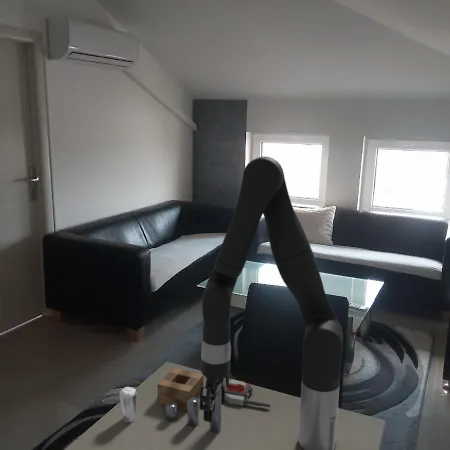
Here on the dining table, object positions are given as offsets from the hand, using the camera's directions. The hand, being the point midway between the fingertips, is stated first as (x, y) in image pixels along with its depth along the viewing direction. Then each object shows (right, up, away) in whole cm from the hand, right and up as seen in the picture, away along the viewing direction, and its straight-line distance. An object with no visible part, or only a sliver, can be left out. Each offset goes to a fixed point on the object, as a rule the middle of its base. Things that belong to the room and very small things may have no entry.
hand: (214, 411), depth 128 cm
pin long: (0, -5, +1) cm, 5 cm away
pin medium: (-6, -4, +3) cm, 8 cm away
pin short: (-12, -4, +6) cm, 14 cm away
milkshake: (-23, -4, +5) cm, 24 cm away
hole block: (-10, -2, +15) cm, 18 cm away
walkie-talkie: (+7, -2, +16) cm, 18 cm away
